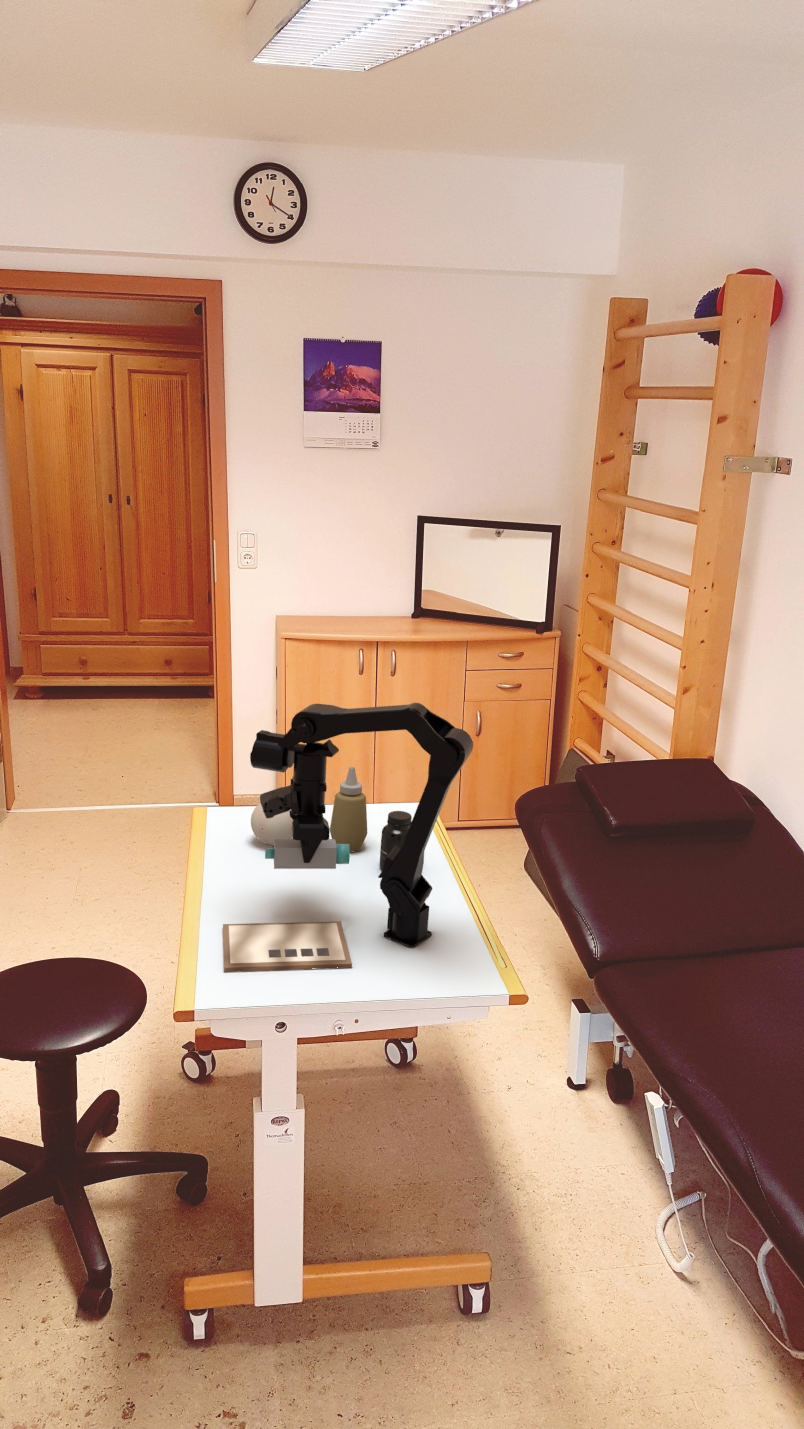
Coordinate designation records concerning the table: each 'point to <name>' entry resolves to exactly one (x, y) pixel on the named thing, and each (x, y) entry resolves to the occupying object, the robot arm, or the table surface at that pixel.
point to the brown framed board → (284, 946)
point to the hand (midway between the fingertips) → (306, 857)
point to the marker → (291, 856)
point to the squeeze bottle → (349, 813)
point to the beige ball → (271, 826)
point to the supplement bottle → (394, 833)
